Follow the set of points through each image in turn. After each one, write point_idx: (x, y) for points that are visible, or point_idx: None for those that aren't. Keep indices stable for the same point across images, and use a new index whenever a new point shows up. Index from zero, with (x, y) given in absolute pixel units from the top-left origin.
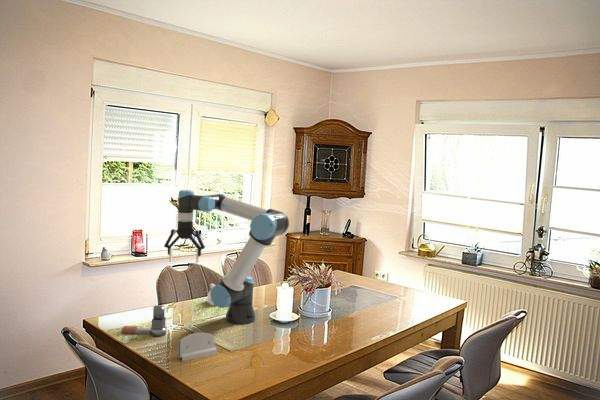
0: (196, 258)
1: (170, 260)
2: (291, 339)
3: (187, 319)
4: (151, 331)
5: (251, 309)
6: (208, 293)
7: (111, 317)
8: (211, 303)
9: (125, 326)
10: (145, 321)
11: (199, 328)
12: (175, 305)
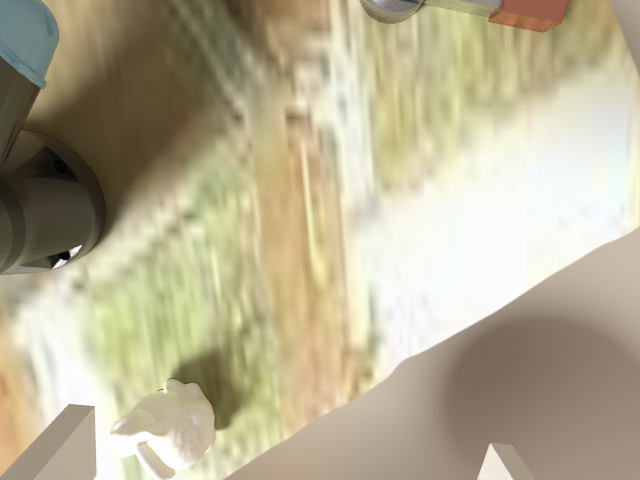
0: (32, 477)
1: (506, 458)
2: None
3: (278, 197)
4: None
5: None
6: (202, 444)
7: (592, 219)
8: (195, 390)
9: (556, 13)
10: (455, 168)
11: (209, 68)
12: (344, 373)
